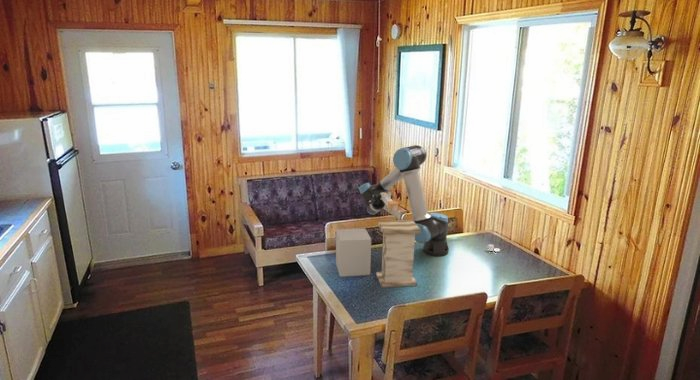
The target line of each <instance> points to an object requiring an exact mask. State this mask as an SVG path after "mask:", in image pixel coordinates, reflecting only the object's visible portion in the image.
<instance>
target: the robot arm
mask: <svg viewBox="0 0 700 380" xmlns="http://www.w3.org/2000/svg"><path fill="white" fill-rule="evenodd" d="M426 160H427V152H426V149H425V148H424V147H422V146H421V145H417V144H415V145H410V146H403V147H402V148H399V149H397V150H395V153H394V154H393V156H392V161H393V162H392V163H393V165H394V168H393V169H392V170H391V171H390V172H389V173H387V175H385V176H384V177H383V178H382V179H381V180H380V181H378V183H375V184H370V182H365V183H363V184H361V185H360V186H359V187H358V190H359V193H360V195H361V197H362V198H363V201H364V203H365V205H366V211H367V213H368V214H369V215H372V216H373V215H377V214H379V212H380V211H381V210H382V209H384V207H385V205H386V204H385V203H384V202H383V201H382V199H383V198H384V193H387V195H388V196H389V197H390V198H391V199H392V200H393V199H394V198H393V195H392V194H391V191H390V189H392V187H393V186H395V185H396V184H397V183H398V182H400V181H401V180H402V179H403V180H404V184H405V188H406V192H407V197H408V201H409V205H410V209H411V214H412V218H411V220H413V221H414V222H415V223H416V225H417V226H418V227H419V228H420V229H421V232H420V233H415V243H419V244H423V245H422V252H423V253H424V254H425V255H428V256H433V257H443V256H447V255H448V254H449V250H450V248H449V245H448V240H447V238H448V237H447V236H448V235H447V234H448V226H449V217H448V216H447V215H446V214H445V213H444V214H443V213H440V212H439V213H438V212H429V211H428V208H427V207H428V206H427V203H426V199H425V194H424V189H423V186H422V183H421V177H420V173H419V172H420V170H421V165H423V164H424V163H425V162H426ZM380 193H381V195H380ZM393 201H394V200H393Z"/></svg>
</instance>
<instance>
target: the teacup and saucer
mask: <svg viewBox="0 0 700 380" xmlns="http://www.w3.org/2000/svg"><path fill="white" fill-rule="evenodd" d="M487 248H489V249H488V252H490V251H493V249H494V251H495V252H498V253H499V252H501V249H500V248H495V245H494V244H488V245H487ZM494 251H493V252H494ZM495 252H494V253H495Z"/></svg>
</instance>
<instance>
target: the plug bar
mask: <svg viewBox="0 0 700 380" xmlns="http://www.w3.org/2000/svg"><path fill="white" fill-rule="evenodd" d="M387 194H388V193H384V198H383V199H382V201H383V202H384V203H385V205H386V207H387V209H388V211H389V212H399V207H400V206H399V204H400V203H399V202H398V201H396V200H392V199H391V198H390V197H389V196H388V195H387ZM380 195H381V193H380Z"/></svg>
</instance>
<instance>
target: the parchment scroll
mask: <svg viewBox="0 0 700 380" xmlns="http://www.w3.org/2000/svg"><path fill="white" fill-rule="evenodd" d="M377 225H378V228H380V229H379V230H381V232H382V257H381V271H376V272H375V276H376V278H377V279H378V283H379V285H380V287H381V288H397V287H399V288H400V287H412V286H418V282H417V280H416V279H415V277H414V274H413V273H414V259H415V255H414V254H415V243H416V241H415V233H420V232H421V229H420V228H419V227H418V226H417V225H416V223H415V222H414V221H413V220H412V219H399V220H398V219H396V220H395V219H394V220H377Z"/></svg>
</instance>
